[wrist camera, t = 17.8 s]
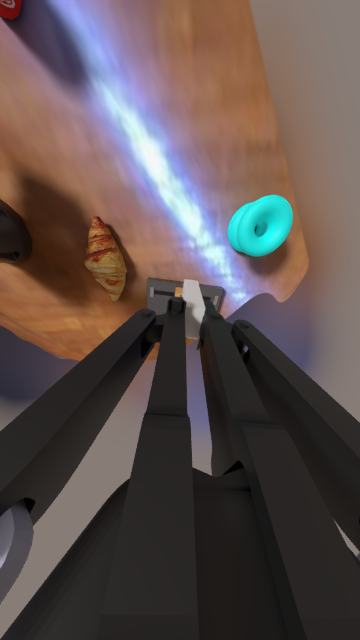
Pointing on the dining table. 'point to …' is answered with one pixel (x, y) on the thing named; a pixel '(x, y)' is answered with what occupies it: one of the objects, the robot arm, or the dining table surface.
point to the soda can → (10, 8)
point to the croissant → (105, 259)
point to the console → (166, 289)
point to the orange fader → (178, 291)
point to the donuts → (261, 226)
